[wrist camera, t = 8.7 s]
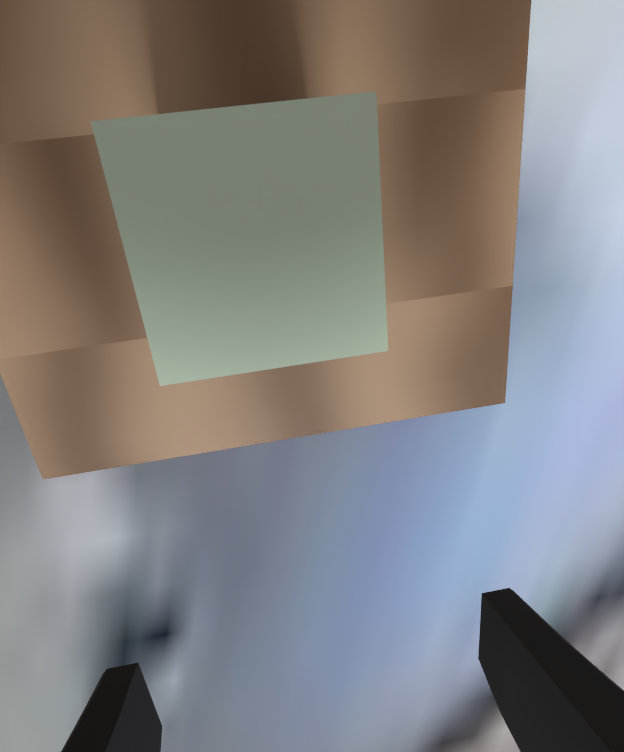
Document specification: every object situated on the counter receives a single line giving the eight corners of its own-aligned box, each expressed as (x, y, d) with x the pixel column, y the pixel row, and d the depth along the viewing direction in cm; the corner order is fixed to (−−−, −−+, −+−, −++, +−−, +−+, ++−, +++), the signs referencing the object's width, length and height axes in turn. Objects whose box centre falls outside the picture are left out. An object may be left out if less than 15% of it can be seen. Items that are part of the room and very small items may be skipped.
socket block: (72, 433, 18) (42, 479, 16) (-89, -16, 13) (-178, -69, 10) (468, 371, 20) (504, 402, 17) (480, -59, 14) (538, -116, 11)
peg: (200, 280, 16) (160, 386, 8) (173, 152, 15) (90, 121, 6) (314, 264, 17) (388, 351, 8) (301, 137, 15) (376, 91, 7)
